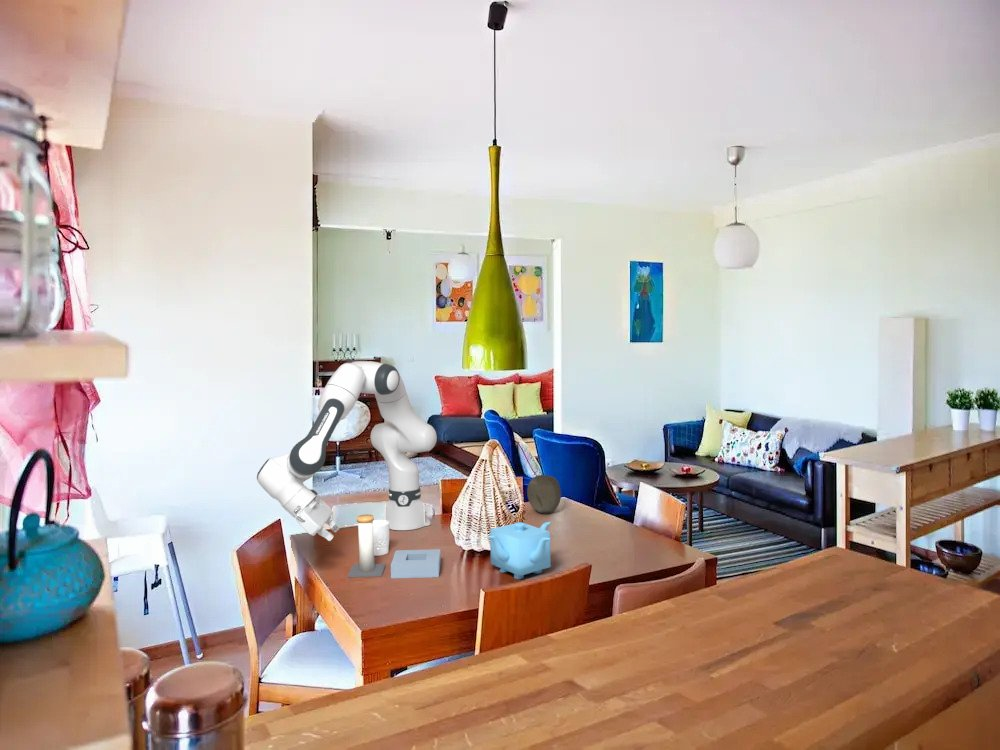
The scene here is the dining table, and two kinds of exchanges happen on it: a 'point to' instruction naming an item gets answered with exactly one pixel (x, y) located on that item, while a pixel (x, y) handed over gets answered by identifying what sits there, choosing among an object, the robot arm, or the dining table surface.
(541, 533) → the teakettle
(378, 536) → the white cup
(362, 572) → the mat
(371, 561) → the plug
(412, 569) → the socket
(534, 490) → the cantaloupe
